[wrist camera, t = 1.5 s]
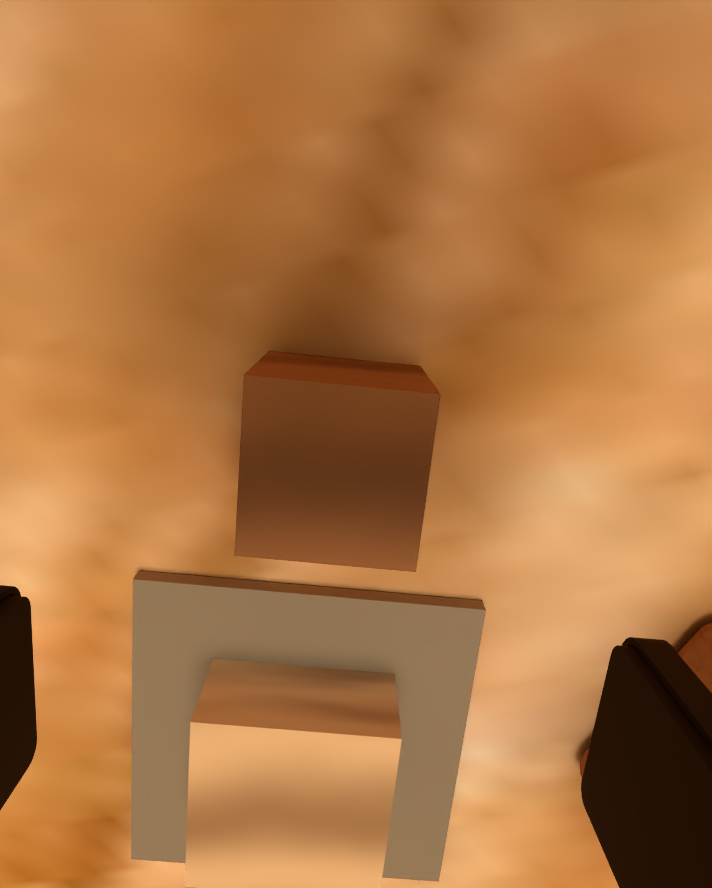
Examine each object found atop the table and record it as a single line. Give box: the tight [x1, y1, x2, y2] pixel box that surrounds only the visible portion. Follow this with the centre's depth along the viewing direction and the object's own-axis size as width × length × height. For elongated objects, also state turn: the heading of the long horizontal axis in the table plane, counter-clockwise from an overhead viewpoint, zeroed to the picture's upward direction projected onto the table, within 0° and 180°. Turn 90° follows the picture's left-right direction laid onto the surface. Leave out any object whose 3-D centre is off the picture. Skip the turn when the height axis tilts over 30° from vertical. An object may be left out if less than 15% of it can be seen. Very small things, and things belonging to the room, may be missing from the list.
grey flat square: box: [131, 571, 486, 881], centre depth 29 cm, size 15×15×1 cm
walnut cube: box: [235, 351, 440, 572], centre depth 23 cm, size 6×6×6 cm
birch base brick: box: [185, 659, 402, 888], centre depth 27 cm, size 8×8×4 cm
